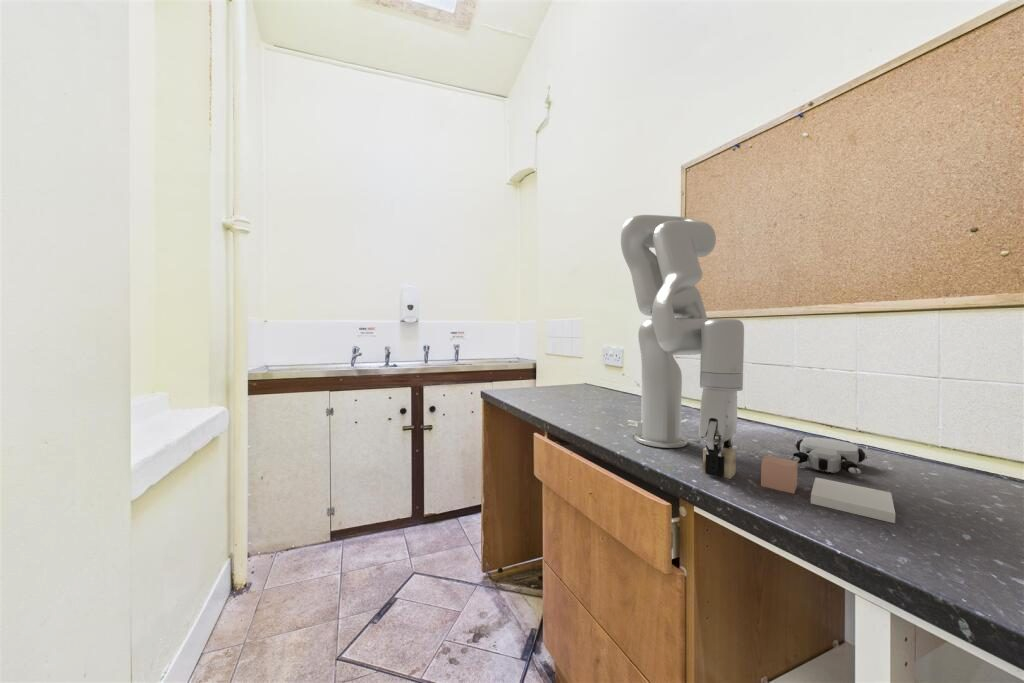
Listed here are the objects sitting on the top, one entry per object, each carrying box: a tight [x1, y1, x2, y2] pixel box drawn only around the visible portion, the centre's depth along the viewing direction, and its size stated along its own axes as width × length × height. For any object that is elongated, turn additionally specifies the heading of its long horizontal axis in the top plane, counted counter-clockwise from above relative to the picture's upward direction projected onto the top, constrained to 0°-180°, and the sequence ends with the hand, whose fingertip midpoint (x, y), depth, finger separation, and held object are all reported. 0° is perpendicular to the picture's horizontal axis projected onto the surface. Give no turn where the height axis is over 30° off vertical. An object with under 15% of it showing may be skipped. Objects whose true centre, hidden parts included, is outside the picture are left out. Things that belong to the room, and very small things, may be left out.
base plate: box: [810, 477, 896, 524], centre depth 65 cm, size 10×10×2 cm
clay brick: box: [760, 454, 799, 494], centre depth 72 cm, size 5×4×5 cm
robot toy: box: [788, 435, 869, 475], centre depth 83 cm, size 12×4×15 cm
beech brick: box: [702, 446, 737, 480], centre depth 78 cm, size 5×4×5 cm
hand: (719, 469), depth 78 cm, fingers open, 5 cm apart
